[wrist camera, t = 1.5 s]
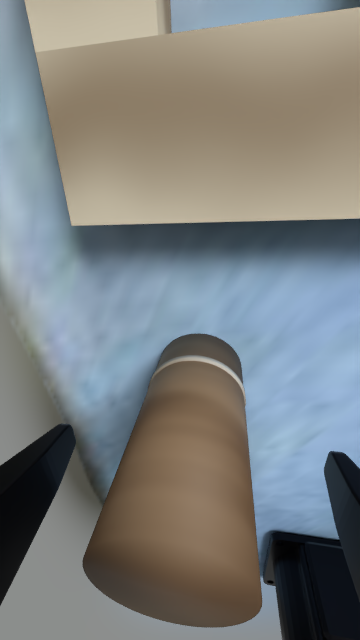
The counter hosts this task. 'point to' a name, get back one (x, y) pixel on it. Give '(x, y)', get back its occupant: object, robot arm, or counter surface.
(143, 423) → the peg
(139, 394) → the counter surface
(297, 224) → the counter surface
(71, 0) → the board
